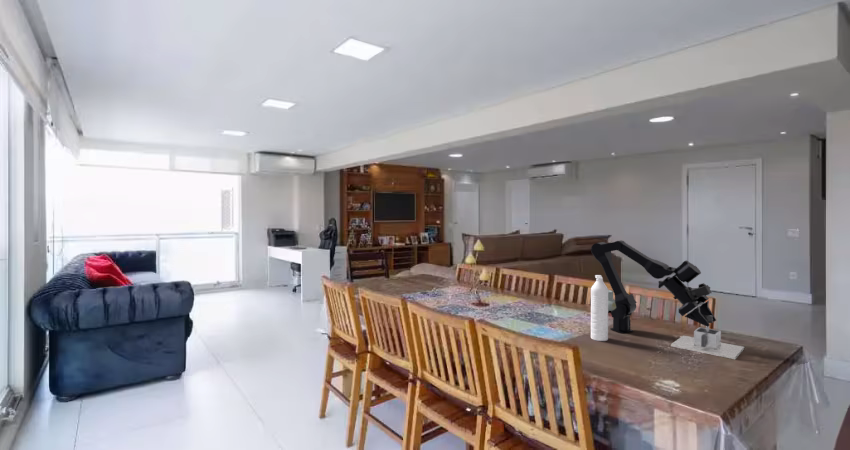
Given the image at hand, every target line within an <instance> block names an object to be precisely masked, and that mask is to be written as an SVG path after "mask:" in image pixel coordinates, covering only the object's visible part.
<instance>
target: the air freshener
mask: <svg viewBox="0 0 850 450" xmlns="http://www.w3.org/2000/svg"><path fill="white" fill-rule="evenodd" d="M615 308H616V304H615V298H614V292H613V290H611V289H608V312H609V311H611V312H612V311H613V310H614V309H615Z"/></svg>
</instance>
